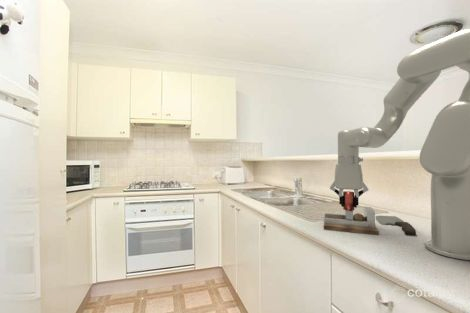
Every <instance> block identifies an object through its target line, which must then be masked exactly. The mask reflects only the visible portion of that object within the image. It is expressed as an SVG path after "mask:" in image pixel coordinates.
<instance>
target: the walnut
mask: <svg viewBox="0 0 470 313" xmlns="http://www.w3.org/2000/svg"><path fill="white" fill-rule="evenodd" d="M353 215H354V216H353V220H355V221H364V214H362V213H354V214H353Z"/></svg>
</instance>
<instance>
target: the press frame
mask: <svg viewBox="0 0 470 313" xmlns="http://www.w3.org/2000/svg"><path fill="white" fill-rule="evenodd" d="M354 215H355V214H353V216H354ZM363 216H364V221H355V220H345V214H341V213H327V212H325V213H324V217H323V225H324V224H333V225H344V226H354V227H365V228H368V227H369V228H375V226H376V212H375V210H374V209H373V208H372V207H371V206H363Z"/></svg>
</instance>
